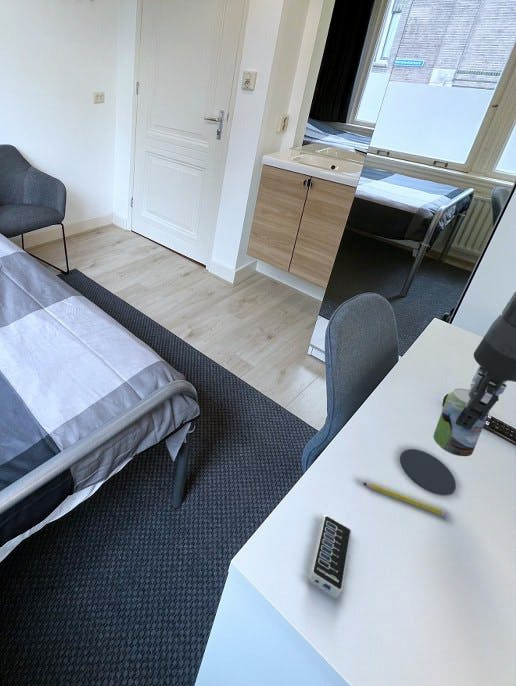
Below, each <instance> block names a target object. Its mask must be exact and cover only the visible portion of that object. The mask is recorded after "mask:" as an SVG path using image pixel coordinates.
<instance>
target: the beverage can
mask: <svg viewBox="0 0 516 686" xmlns="http://www.w3.org/2000/svg"><path fill="white" fill-rule="evenodd" d="M469 391H470V389H467V388H455V389H453V391H451V392H450V393H448V394H447V395H446V398H445V401H444V405H443V407H442V410H441V412H440V416H439V418H438V421H437V424H436V427H435V430H434V432H433V440H434V441H435V443H436V444H437V445H438V446H439V447H440V449H442V450H443V451H445V452H446V453H448V454H450V455H453V456H457V457H470V456H472V455H473V453H474V451H475V448H476V447H477V443H478V441H479V438H480V436H481V433H482V431H483V428H484V426H485V423H486V421H487V419H488V417H489V413H490V411H489V412H488V413H487V414H486V416H485V418H484V419H483V420H482V421H481V420H479V419H478V420H477V421H476V423H475V424H474V425H473V427H472V428H471V429H470V430H467V429H465V428H463V427H461V426H459V425H457V424H456V420H457V418H458V417H459V415H460V414H461V412H462V411H463V409H464V405H465V404H467V402H468V400H469V398H470V397H469V395H468V393H469ZM474 394H476V393H475V392H474ZM476 408H477V407H476ZM478 409H479V408H478Z"/></svg>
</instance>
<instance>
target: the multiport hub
mask: <svg viewBox="0 0 516 686" xmlns="http://www.w3.org/2000/svg"><path fill="white" fill-rule="evenodd" d="M351 537H352V530H351V528H350V527H348V526H346V525H345V524H343V523H341V522H339V521H338V520H336V519H334V518H332V517H331V516H329V515H327V514H325V515H323V516H322V519H321V521H320V523H319V526H318V530H317V535H316V539H315V545H314V549H313V552H312V557H311V561H310V566H309V570H308V575H307V580H308V582H309V583H311V584H313V585H314V586H315V587H317V588H319V589H320V590H321V591H323V592H325V593H326V594H327V595H330V596H331V597H333V598H335V599H337V598H338V597H339V596H340V594H341V592H342V591H343V588H344V583H345V582H344V581H345V575H346V569H347V563H348V557H349V549H350V543H351Z"/></svg>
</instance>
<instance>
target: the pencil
mask: <svg viewBox="0 0 516 686" xmlns="http://www.w3.org/2000/svg"><path fill="white" fill-rule="evenodd" d="M362 484H363V485H364V486H366V487H368V488H369V489H371V490H373V491H376V492H379V493H381V494H384V495H386V496H389V497H391V498H394V499H397V500H400V501H402V502H404V503H407V504H410V505H412V506H415V507H418V508H421V509H423V510H426V511H427V512H431V513H433V514H436V515H438V516H441V517H444V518H447V516H448V512H447V511H446V510H443V509H440V508H437V507H434V506H433V505H430V504H427V503H425V502H422V501H419V500H416V499H414V498H411V497H408V496H405V495H403V494H400V493H398V492H396V491H393V490H390V489H387V488H385V487H383V486H379V485H377V484H374V483H371V482H362Z"/></svg>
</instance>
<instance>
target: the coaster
mask: <svg viewBox="0 0 516 686" xmlns="http://www.w3.org/2000/svg"><path fill="white" fill-rule="evenodd" d="M399 456H400V457H399V462H400V465H401V468H402V470H403V471H404V473H405V474H406V475H407V476H408V477H409V478H410V479H411V480H412V481H413V482H414V483H415V484H417V485H418V486H419V487H421V488H423V489H425V490H427V491H428V492H431V493H434V494H437V495H449V494H452V493H453V492H454V491H455V489H456V486H457V485H456V479H455V477H454V475H453V473H452V472H451V470H450V469H449V468H448V467H447V466H446V464H444V463H443V462H442V461H440V460H439V459H438V458H436V457H435V456H434V455H432V454H430V453H428V452H426V451H423V450H421V449H414V448H409V449H405V450H404V451H402V452H401V454H400V455H399Z"/></svg>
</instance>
